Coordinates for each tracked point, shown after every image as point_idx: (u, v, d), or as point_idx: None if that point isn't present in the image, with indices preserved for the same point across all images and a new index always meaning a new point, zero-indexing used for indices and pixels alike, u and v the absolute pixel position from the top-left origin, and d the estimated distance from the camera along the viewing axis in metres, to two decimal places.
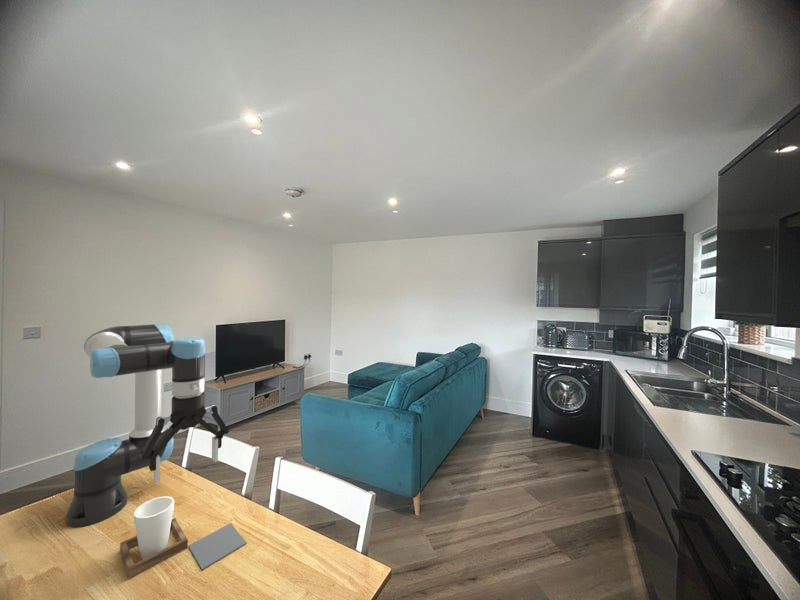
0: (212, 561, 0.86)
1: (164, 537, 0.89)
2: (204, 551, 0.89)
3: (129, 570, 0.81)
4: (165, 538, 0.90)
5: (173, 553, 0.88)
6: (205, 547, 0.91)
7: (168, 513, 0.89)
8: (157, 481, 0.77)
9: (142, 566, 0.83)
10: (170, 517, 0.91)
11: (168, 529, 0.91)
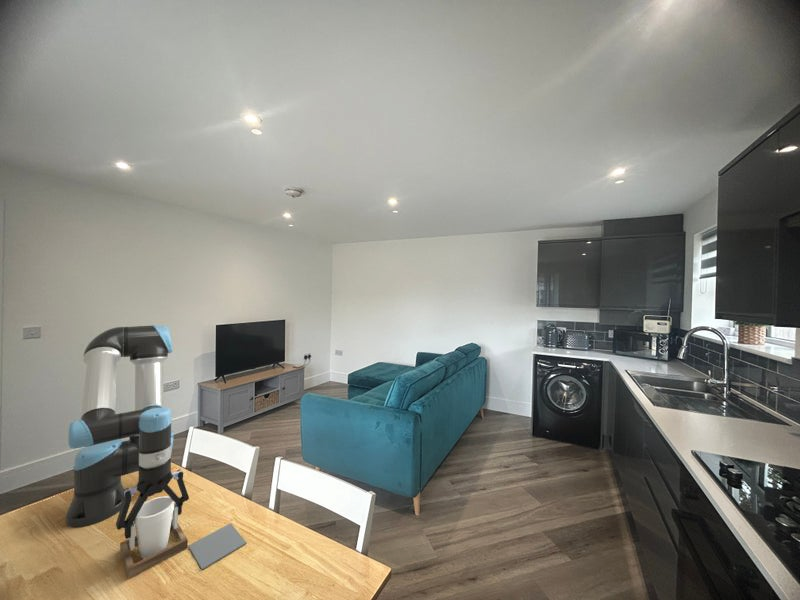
0: (212, 561, 0.86)
1: (164, 537, 0.89)
2: (204, 551, 0.89)
3: (129, 570, 0.81)
4: (165, 538, 0.90)
5: (173, 553, 0.88)
6: (205, 547, 0.91)
7: (168, 513, 0.89)
8: (132, 547, 0.85)
9: (142, 566, 0.83)
10: (170, 517, 0.91)
11: (168, 529, 0.91)
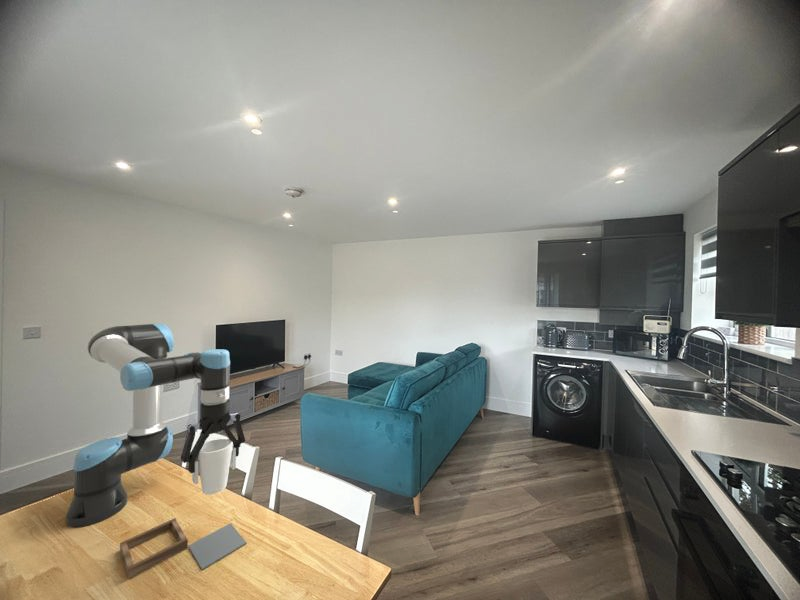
0: (212, 561, 0.86)
1: (225, 475, 0.90)
2: (204, 551, 0.89)
3: (129, 570, 0.81)
4: (226, 476, 0.91)
5: (173, 553, 0.88)
6: (205, 547, 0.91)
7: (228, 451, 0.91)
8: (196, 482, 0.86)
9: (142, 566, 0.83)
10: (229, 456, 0.92)
11: (228, 468, 0.92)
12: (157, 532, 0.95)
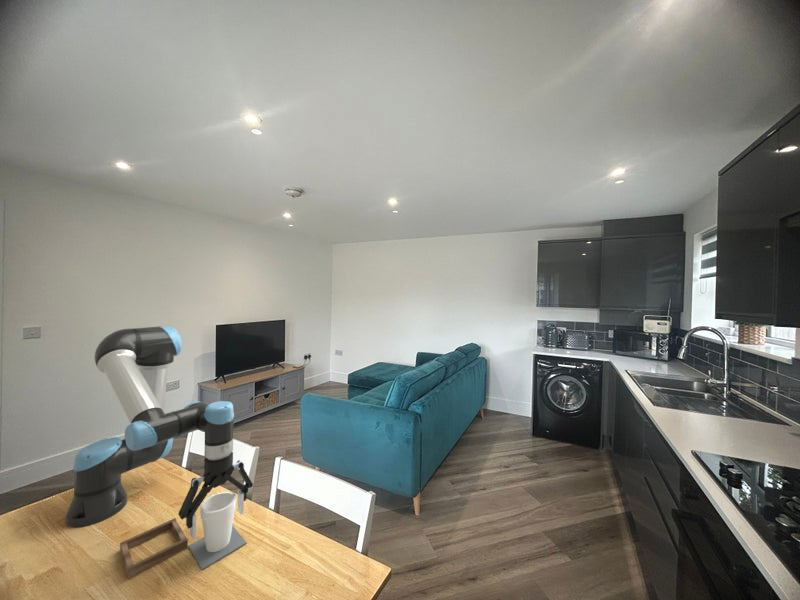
0: (212, 561, 0.86)
1: (228, 531, 0.91)
2: (204, 551, 0.89)
3: (129, 570, 0.81)
4: (229, 532, 0.92)
5: (173, 553, 0.88)
6: (205, 547, 0.91)
7: (232, 508, 0.91)
8: (193, 537, 0.86)
9: (142, 566, 0.83)
10: (233, 512, 0.93)
11: (231, 524, 0.93)
12: (157, 532, 0.95)
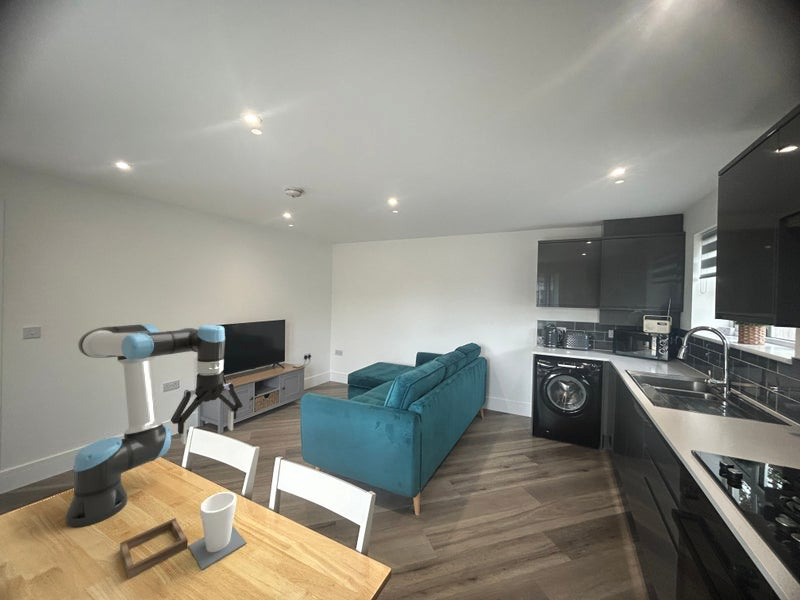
0: (212, 561, 0.86)
1: (228, 531, 0.91)
2: (204, 551, 0.89)
3: (129, 570, 0.81)
4: (229, 532, 0.92)
5: (173, 553, 0.88)
6: (205, 547, 0.91)
7: (232, 508, 0.91)
8: (184, 442, 0.94)
9: (142, 566, 0.83)
10: (233, 512, 0.93)
11: (231, 524, 0.93)
12: (157, 532, 0.95)
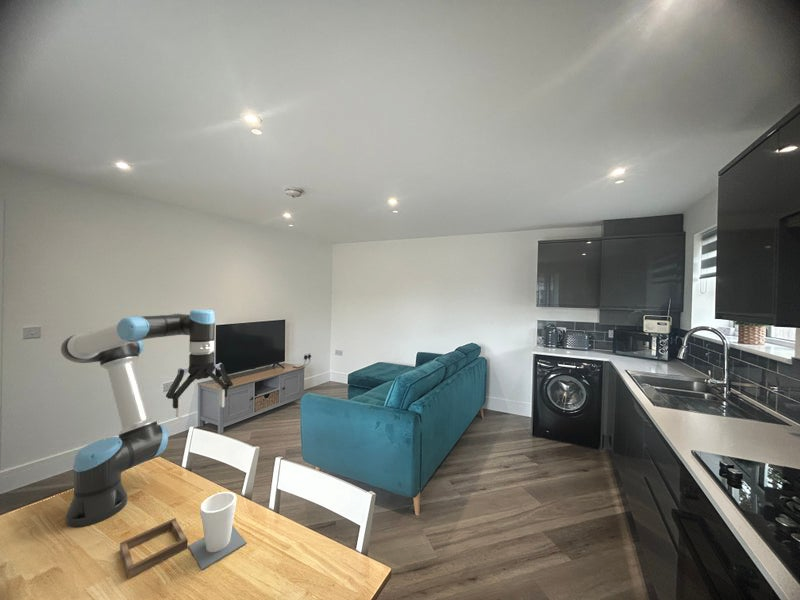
0: (212, 561, 0.86)
1: (228, 531, 0.91)
2: (204, 551, 0.89)
3: (129, 570, 0.81)
4: (229, 532, 0.92)
5: (173, 553, 0.88)
6: (205, 547, 0.91)
7: (232, 508, 0.91)
8: (179, 416, 1.02)
9: (142, 566, 0.83)
10: (233, 512, 0.93)
11: (231, 524, 0.93)
12: (157, 532, 0.95)
